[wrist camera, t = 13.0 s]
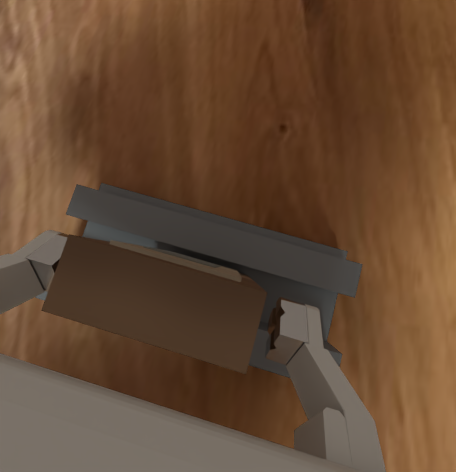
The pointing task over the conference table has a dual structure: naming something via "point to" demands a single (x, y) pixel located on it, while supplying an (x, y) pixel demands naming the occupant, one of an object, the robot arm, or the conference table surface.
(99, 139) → the conference table surface
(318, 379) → the robot arm
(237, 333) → the wooden picture frame
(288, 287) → the picture ledge
